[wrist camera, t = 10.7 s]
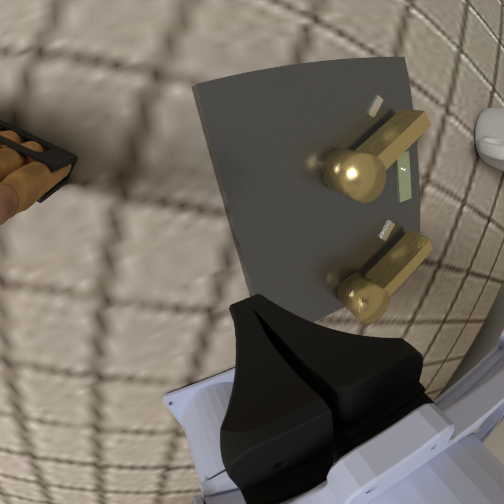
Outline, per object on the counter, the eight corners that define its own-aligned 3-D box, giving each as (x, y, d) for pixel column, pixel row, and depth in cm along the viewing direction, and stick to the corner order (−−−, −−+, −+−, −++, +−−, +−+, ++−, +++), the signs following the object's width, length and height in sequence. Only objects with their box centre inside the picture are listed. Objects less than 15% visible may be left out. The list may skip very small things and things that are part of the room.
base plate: (408, 260, 29) (422, 269, 28) (260, 331, 26) (270, 346, 24) (391, 57, 20) (409, 56, 19) (191, 87, 17) (198, 83, 15)
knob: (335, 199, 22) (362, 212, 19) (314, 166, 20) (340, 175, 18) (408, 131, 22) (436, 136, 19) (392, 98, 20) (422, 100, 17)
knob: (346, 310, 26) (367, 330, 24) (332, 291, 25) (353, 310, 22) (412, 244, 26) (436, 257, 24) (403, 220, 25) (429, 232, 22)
